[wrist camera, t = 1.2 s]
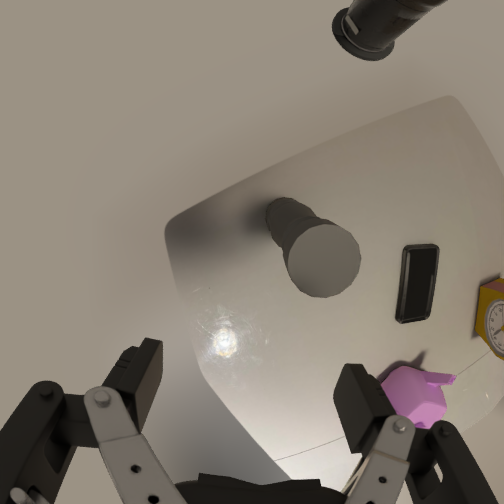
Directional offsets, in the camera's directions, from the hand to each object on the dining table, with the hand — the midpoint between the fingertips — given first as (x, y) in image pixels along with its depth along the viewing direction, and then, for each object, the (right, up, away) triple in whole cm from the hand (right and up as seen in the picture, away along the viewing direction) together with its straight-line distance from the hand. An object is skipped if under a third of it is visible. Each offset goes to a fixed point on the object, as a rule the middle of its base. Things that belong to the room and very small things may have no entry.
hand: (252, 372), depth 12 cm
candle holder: (+5, +11, +34) cm, 36 cm away
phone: (+31, -1, +37) cm, 48 cm away
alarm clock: (+55, -7, +39) cm, 67 cm away
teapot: (+32, -26, +43) cm, 60 cm away
